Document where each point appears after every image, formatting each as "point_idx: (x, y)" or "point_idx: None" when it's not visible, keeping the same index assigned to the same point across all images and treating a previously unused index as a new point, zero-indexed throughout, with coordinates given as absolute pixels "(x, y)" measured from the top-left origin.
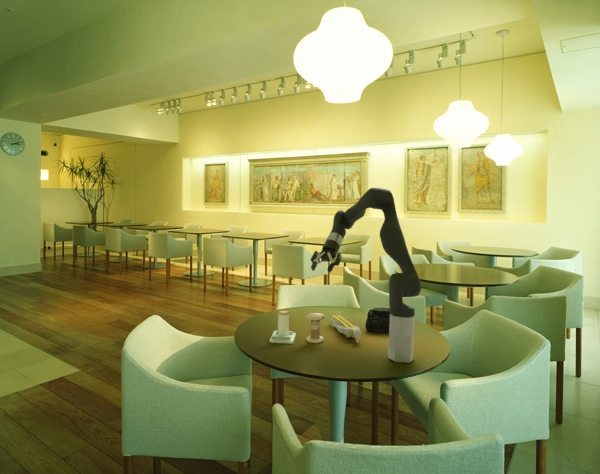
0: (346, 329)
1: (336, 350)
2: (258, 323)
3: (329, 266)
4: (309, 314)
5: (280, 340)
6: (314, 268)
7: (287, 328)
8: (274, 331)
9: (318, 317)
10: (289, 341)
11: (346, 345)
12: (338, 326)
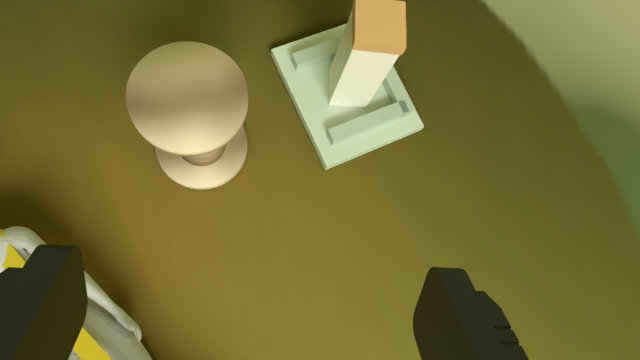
0: (26, 233)
1: (47, 67)
2: (587, 241)
3: (16, 307)
4: (234, 94)
5: (326, 35)
6: (428, 344)
7: (336, 75)
8: (405, 93)
9: (148, 58)
10: (285, 44)
11: (22, 155)
12: (121, 319)
